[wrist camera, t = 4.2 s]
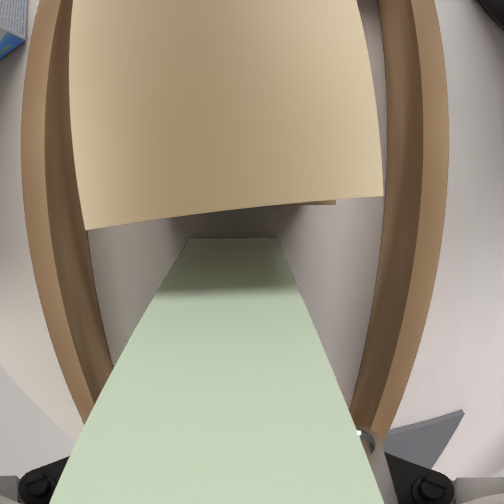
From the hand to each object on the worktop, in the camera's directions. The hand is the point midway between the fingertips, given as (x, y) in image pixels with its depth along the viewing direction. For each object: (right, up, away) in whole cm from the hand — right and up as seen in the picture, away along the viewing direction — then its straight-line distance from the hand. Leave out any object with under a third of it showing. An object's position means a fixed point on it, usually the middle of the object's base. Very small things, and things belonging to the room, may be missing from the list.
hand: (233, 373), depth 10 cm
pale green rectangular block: (0, +1, +2) cm, 2 cm away
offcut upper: (0, +8, -3) cm, 9 cm away
